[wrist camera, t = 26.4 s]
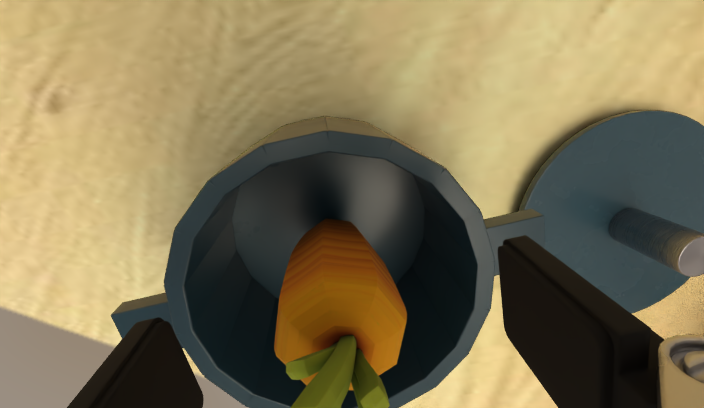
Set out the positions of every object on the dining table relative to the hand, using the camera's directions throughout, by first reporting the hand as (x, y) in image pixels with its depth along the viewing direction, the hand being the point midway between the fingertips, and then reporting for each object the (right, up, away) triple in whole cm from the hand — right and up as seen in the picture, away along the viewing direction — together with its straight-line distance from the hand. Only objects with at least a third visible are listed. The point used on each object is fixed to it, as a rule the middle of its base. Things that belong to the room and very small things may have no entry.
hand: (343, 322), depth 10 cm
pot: (-1, +2, +13) cm, 13 cm away
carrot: (-1, +2, +13) cm, 13 cm away
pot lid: (+18, +2, +14) cm, 23 cm away
